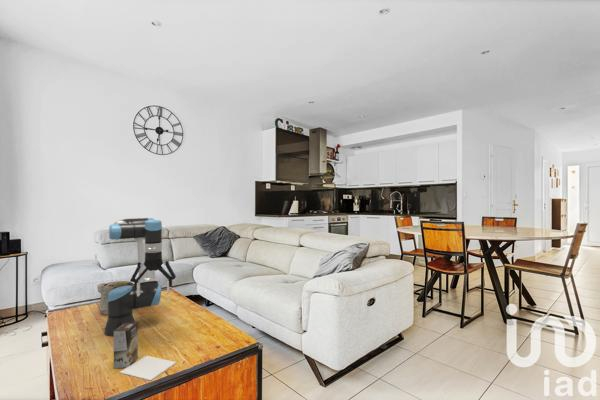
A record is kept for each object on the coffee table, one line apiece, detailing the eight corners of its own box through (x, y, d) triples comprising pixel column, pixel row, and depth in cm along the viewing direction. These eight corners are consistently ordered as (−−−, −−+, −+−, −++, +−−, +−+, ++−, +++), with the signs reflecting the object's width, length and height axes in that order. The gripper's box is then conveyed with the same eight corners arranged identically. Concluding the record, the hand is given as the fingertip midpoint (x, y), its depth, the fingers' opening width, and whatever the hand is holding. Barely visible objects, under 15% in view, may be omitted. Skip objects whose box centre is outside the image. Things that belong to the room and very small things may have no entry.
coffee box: (128, 367, 129) (128, 330, 129) (113, 368, 129) (112, 331, 129) (138, 356, 138) (138, 321, 138) (123, 357, 138) (123, 322, 138)
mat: (119, 372, 125) (119, 372, 125) (146, 356, 138) (146, 355, 138) (150, 381, 120) (150, 380, 120) (176, 363, 133) (176, 362, 133)
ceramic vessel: (124, 289, 217) (135, 264, 208) (137, 316, 206) (149, 291, 197) (88, 297, 198) (98, 270, 190) (100, 327, 187) (112, 300, 179)
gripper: (122, 254, 141) (123, 299, 141) (179, 251, 147) (179, 294, 148) (127, 251, 149) (128, 294, 149) (181, 249, 155) (181, 290, 155)
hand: (153, 294), depth 148 cm, fingers open, 13 cm apart
